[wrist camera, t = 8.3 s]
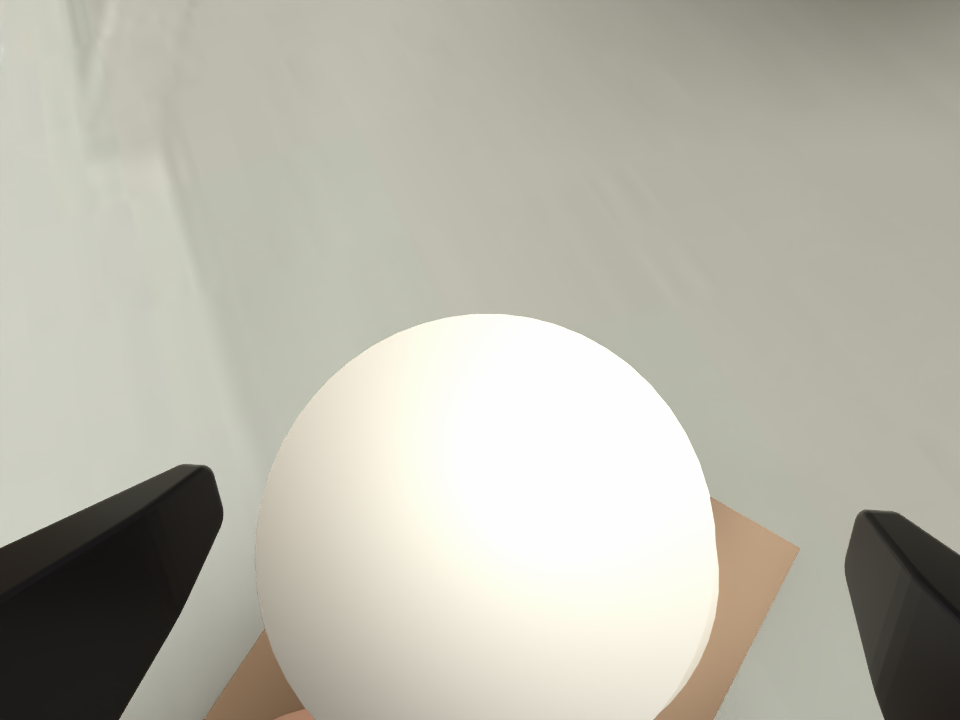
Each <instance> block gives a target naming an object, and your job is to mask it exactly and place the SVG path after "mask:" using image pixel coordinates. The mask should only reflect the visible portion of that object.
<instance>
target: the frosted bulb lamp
mask: <svg viewBox="0 0 960 720" xmlns="http://www.w3.org/2000/svg"><path fill="white" fill-rule="evenodd" d="M715 568H716V541H715V523H714V518H713V512H712V507H711V501H710V496H709V491H708V488H707V485H706V482H705V479H704V475H703V472H702V469H701V466H700V463H699V460H698V458H697V456H696V454H695V452H694V450H693V448H692V445H691V443H690V441H689V439H688V437H687V435H686V433H685V431H684V430H683V428H682V427H681V425H680V423H679V422H678V420H677V419H676V417H675V416H674V414H673V412H672V411H671V409H670V408H669V406H668V405H667V404H666V403H665V402H664V400H663V399H662V398H661V397H660V396H659V394H658V393H657V392H656V391H655V390H654V388H653V387H652V386H651V385H650V384H649V383H648V382H647V381H646V380H645V379H644V378H643V377H642V376H641V375H639V374H638V373H637V372H636V371H635V370H634V369H633V368H632V367H631V366H630V365H629V364H627V363H626V362H625V361H623V360H622V359H620V358H619V357H618V356H616V355H615V354H613V353H612V352H611V351H609V350H608V349H607V348H605V347H603V346H601V345H599V344H598V343H596V342H594V341H592V340H590V339H588V338H587V337H585V336H583V335H581V334H579V333H576V332H573V331H571V330H568V329H566V328H563V327H561V326H558V325H556V324H552V323H548V322H544V321H540V320H536V319H532V318H528V317H520V316H512V315H504V314H472V315H464V316H455V317H447V318H443V319H439V320H435V321H431V322H427V323H423V324H420V325H417V326H415V327H412V328H409V329H407V330H404V331H401V332H399V333H396V334H394V335H392V336H391V337H389V338H387V339H385V340H383V341H381V342H379V343H377V344H375V345H373V346H372V347H370V348H369V349H367V350H366V351H364V352H363V353H361V354H360V355H358V356H357V357H355V358H354V359H353V360H351V361H350V362H349V363H347V364H346V365H345V366H344V367H343V368H342V369H340V370H339V371H338V372H337V373H336V374H335V375H334V376H332V377H331V378H330V379H329V380H328V381H327V382H326V383H325V384H324V386H323V387H322V388H321V389H320V390H319V391H318V392H317V393H316V394H315V395H314V396H313V398H312V399H311V400H310V401H309V403H308V404H307V405H306V407H305V408H304V409H303V411H302V412H301V414H300V415H299V416H298V418H297V419H296V420H295V422H294V424H293V425H292V427H291V429H290V431H289V432H288V434H287V436H286V438H285V440H284V441H283V443H282V445H281V447H280V449H279V451H278V454H277V456H276V458H275V461H274V463H273V466H272V468H271V470H270V473H269V476H268V479H267V483H266V486H265V490H264V493H263V497H262V500H261V505H260V511H259V517H258V523H257V529H256V545H255V571H256V585H257V594H258V599H259V604H260V609H261V614H262V619H263V623H264V626H265V629H266V632H267V636H268V639H269V642H270V645H271V648H272V651H273V653H274V655H275V657H276V659H277V661H278V663H279V665H280V668H281V670H282V672H283V674H284V676H285V678H286V680H287V682H288V683H289V685H290V686H291V688H292V689H293V691H294V692H295V694H296V695H297V697H298V698H299V700H300V701H301V703H302V704H303V706H304V707H305V708H306V710H307V711H308V712H309V713H310V714H311V715H312V717H313V718H314V719H315V720H653V719H654V718H655V717H656V716H657V715H658V714H659V712H660V711H661V710H662V708H663V707H664V705H665V704H666V703H667V701H668V700H669V699H670V697H671V696H672V695H673V693H674V692H675V691H676V689H677V688H678V686H679V684H680V682H681V680H682V679H683V677H684V675H685V673H686V671H687V669H688V668H689V666H690V664H691V662H692V660H693V658H694V656H695V653H696V651H697V648H698V645H699V642H700V640H701V637H702V634H703V632H704V629H705V626H706V623H707V618H708V614H709V609H710V605H711V600H712V596H713V591H714V579H715Z"/></svg>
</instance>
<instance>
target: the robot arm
mask: <svg viewBox="0 0 960 720" xmlns="http://www.w3.org/2000/svg"><path fill="white" fill-rule="evenodd" d="M222 521H223V506H222V502H221V499H220V495H219V491H218V488H217V484H216V480H215V477H214V473H213V471H212V470H211V469H210V468H209V467H208V466H205V465H194V464H182V465H179V466H176V467H174V468H172V469H170V470H168V471H166V472H163V473H161V474H159V475H157V476H155V477H153V478H150V479H148V480H146V481H144V482H142V483H140V484H138V485H135V486H133V487H131V488H129V489H127V490H125V491H122V492H120V493H118V494H116V495H114V496H112V497H109V498H107V499H105V500H103V501H101V502H99V503H97V504H94V505H92V506H90V507H88V508H86V509H84V510H81V511H79V512H77V513H75V514H73V515H71V516H68V517H66V518H64V519H62V520H60V521H58V522H56V523H53V524H51V525H49V526H47V527H45V528H43V529H40V530H38V531H36V532H34V533H32V534H30V535H27V536H25V537H23V538H21V539H19V540H17V541H14V542H12V543H10V544H8V545H6V546H4V547H2V548H0V720H119V719H120V717H121V715H122V713H123V712H124V710H125V708H126V707H127V705H128V703H129V701H130V700H131V698H132V696H133V695H134V693H135V691H136V690H137V688H138V686H139V684H140V683H141V681H142V679H143V678H144V676H145V674H146V672H147V671H148V669H149V667H150V666H151V664H152V662H153V661H154V659H155V657H156V655H157V654H158V652H159V650H160V649H161V647H162V645H163V643H164V642H165V640H166V638H167V637H168V635H169V633H170V631H171V630H172V628H173V626H174V624H175V623H176V621H177V619H178V617H179V615H180V613H181V611H182V609H183V607H184V605H185V603H186V601H187V599H188V597H189V595H190V593H191V590H192V588H193V586H194V584H195V582H196V580H197V577H198V575H199V573H200V571H201V569H202V566H203V564H204V562H205V560H206V558H207V556H208V553H209V551H210V549H211V547H212V545H213V543H214V540H215V538H216V536H217V534H218V532H219V529H220V527H221V525H222ZM845 576H846V581H847V585H848V589H849V593H850V597H851V601H852V605H853V609H854V613H855V617H856V621H857V625H858V629H859V633H860V637H861V641H862V645H863V649H864V653H865V657H866V661H867V665H868V669H869V673H870V677H871V680H872V684H873V688H874V691H875V694H876V697H877V700H878V703H879V706H880V709H881V711H882V714H883V717H884V719H885V720H960V555H959V554H958V553H956V552H955V551H953V550H952V549H950V548H949V547H947V546H946V545H944V544H943V543H941V542H940V541H939V540H937V539H936V538H934V537H933V536H931V535H930V534H928V533H927V532H925V531H924V530H922V529H921V528H920V527H918V526H917V525H915V524H914V523H912V522H911V521H909V520H908V519H906V518H905V517H903V516H902V515H900V514H899V513H896V512H893V511H880V510H863V511H861V512H859V514H858V515H857V517H856V519H855V523H854V527H853V530H852V534H851V538H850V542H849V546H848V550H847V554H846V558H845Z"/></svg>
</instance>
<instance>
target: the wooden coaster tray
mask: <svg viewBox="0 0 960 720" xmlns="http://www.w3.org/2000/svg"><path fill="white" fill-rule="evenodd" d="M710 501H711V507H712V512H713V518H714V523H715V541H716V568H715V579H714V591H713V596H712V600H711V605H710V609H709V614H708V618H707V623H706V626H705V629H704V632H703V634H702V637H701V640H700V642H699V645H698V648H697V651H696V653H695V656H694V658H693V660H692V662H691V664H690V666H689V668H688V669H687V671H686V673H685V675H684V677H683V679H682V680H681V682H680V684H679V686H678V688H677V689H676V691H675V692H674V693H673V695H672V696H671V697H670V699H669V700H668V701H667V703H666V704H665V705H664V707H663V708H662V710H661V711H660V712H659V714H658V715H657V716H656V717H655V718H654V719H653V720H713V719H714V717H715V715H716V713H717V711H718V709H719V707H720V705H721V703H722V701H723V700H724V698H725V696H726V694H727V692H728V690H729V688H730V686H731V684H732V682H733V680H734V678H735V676H736V674H737V672H738V670H739V668H740V666H741V664H742V662H743V660H744V658H745V656H746V654H747V652H748V650H749V648H750V646H751V644H752V642H753V640H754V638H755V636H756V635H757V633H758V631H759V629H760V627H761V625H762V623H763V621H764V619H765V617H766V615H767V613H768V611H769V609H770V607H771V605H772V603H773V601H774V599H775V597H776V595H777V593H778V591H779V589H780V587H781V585H782V583H783V581H784V579H785V577H786V575H787V573H788V571H789V569H790V568H791V566H792V564H793V562H794V560H795V558H796V556H797V554H798V552H799V550H800V548H799V547H797V546H795V545H793V544H792V543H790V542H788V541H786V540H785V539H783V538H781V537H779V536H778V535H776V534H774V533H772V532H771V531H769V530H767V529H766V528H764V527H762V526H760V525H759V524H757V523H755V522H753V521H752V520H750V519H748V518H746V517H745V516H743V515H741V514H739V513H738V512H736V511H734V510H732V509H731V508H729V507H727V506H726V505H724V504H722V503H720V502H719V501H717V500H715V499H713V498H712V497H710ZM204 720H315V719H314V718H313V717H312V715H311V714H310V713H309V712H308V711H307V710H306V708H305V707H304V706H303V704H302V703H301V701H300V700H299V698H298V697H297V695H296V694H295V692H294V691H293V689H292V688H291V686H290V685H289V683H288V682H287V680H286V678H285V676H284V674H283V672H282V670H281V668H280V665H279V663H278V661H277V659H276V657H275V655H274V653H273V651H272V648H271V645H270V642H269V639H268V636H267V632H266V629H264V631H263V632H262V634H261V635H260V637H259V638H258V640H257V641H256V643H255V644H254V646H253V647H252V649H251V650H250V652H249V653H248V655H247V656H246V658H245V659H244V661H243V662H242V664H241V665H240V667H239V668H238V669H237V671H236V672H235V674H234V675H233V677H232V678H231V680H230V681H229V683H228V684H227V686H226V687H225V689H224V690H223V692H222V693H221V695H220V696H219V698H218V699H217V701H216V702H215V704H214V705H213V707H212V708H211V710H210V711H209V713H208V714H207V716H206V717H205V719H204Z"/></svg>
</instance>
